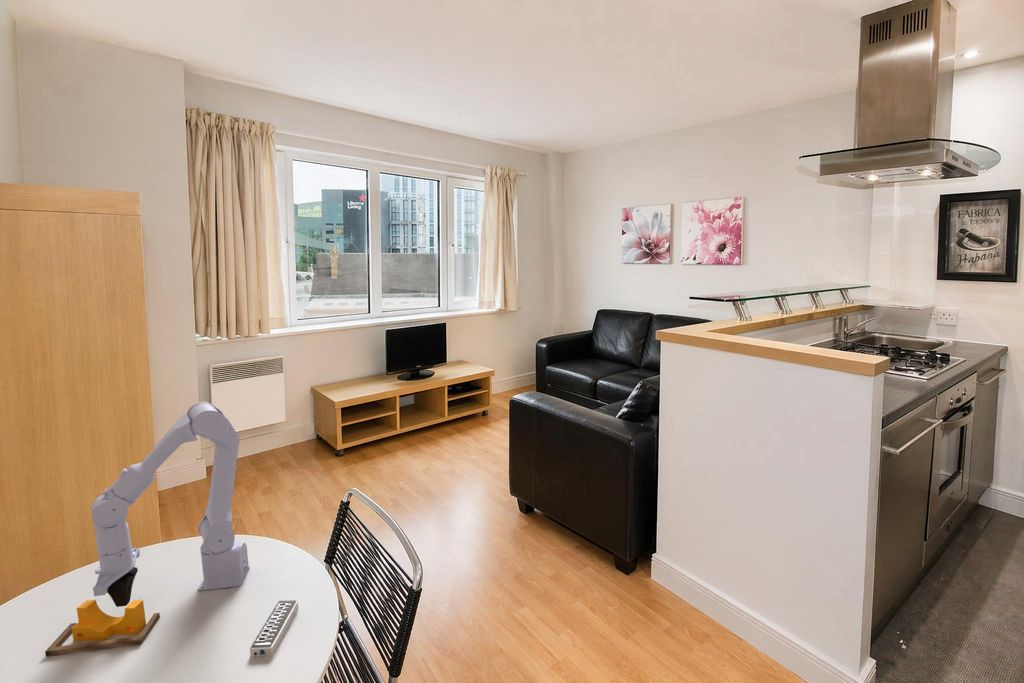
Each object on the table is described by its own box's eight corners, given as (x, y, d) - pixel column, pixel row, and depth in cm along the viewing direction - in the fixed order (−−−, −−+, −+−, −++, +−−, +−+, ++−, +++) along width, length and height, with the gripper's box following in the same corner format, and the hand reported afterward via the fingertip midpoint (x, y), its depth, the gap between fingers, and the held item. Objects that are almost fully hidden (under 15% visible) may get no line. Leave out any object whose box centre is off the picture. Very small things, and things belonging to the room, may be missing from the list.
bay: (160, 617, 113) (159, 612, 113) (141, 644, 105) (141, 639, 105) (71, 628, 109) (70, 623, 109) (45, 656, 102) (44, 651, 102)
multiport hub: (299, 608, 116) (298, 599, 116) (272, 658, 102) (271, 648, 102) (279, 609, 116) (278, 600, 116) (249, 659, 102) (248, 648, 101)
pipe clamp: (73, 642, 106) (69, 614, 105) (90, 627, 110) (86, 599, 109) (131, 642, 106) (127, 614, 105) (146, 627, 110) (142, 600, 109)
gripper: (112, 532, 118) (120, 586, 120) (72, 570, 104) (82, 630, 106) (146, 529, 119) (154, 582, 121) (112, 566, 105) (120, 625, 107)
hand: (123, 604), depth 114 cm, fingers closed
